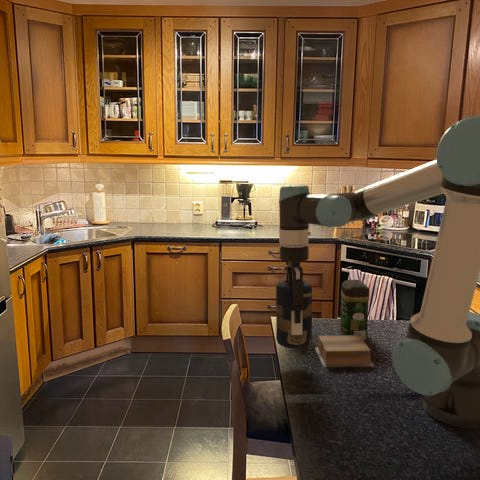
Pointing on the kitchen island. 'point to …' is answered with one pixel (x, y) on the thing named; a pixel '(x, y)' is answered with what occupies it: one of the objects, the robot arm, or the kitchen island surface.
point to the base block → (344, 350)
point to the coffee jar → (354, 308)
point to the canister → (284, 316)
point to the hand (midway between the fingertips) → (294, 327)
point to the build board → (339, 365)
